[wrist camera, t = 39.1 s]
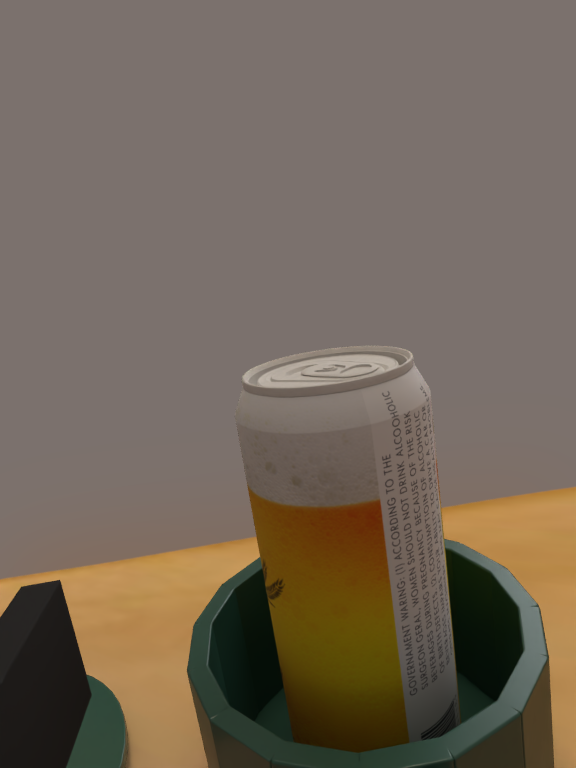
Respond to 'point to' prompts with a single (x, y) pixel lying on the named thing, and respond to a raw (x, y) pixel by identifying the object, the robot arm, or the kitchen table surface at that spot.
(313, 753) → the pot
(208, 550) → the kitchen table surface
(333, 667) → the beer can
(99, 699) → the pot lid
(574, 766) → the kitchen table surface
